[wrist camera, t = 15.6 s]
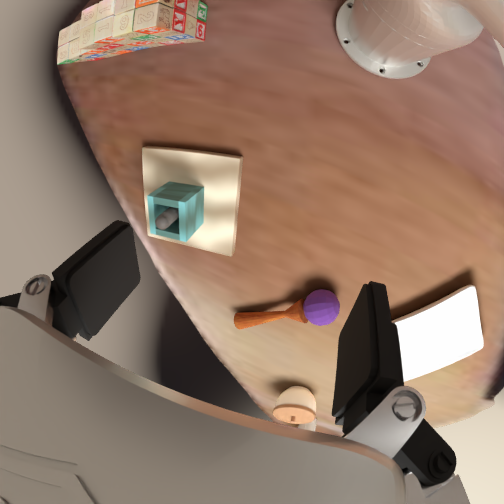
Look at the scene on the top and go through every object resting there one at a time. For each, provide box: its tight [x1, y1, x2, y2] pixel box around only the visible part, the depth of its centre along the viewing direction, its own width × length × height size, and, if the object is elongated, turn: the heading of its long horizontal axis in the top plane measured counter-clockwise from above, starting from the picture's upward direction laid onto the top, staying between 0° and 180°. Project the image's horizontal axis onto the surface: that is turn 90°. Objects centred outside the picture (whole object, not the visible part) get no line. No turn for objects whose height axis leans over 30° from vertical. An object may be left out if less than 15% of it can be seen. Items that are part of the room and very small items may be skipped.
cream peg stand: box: [142, 146, 243, 257], centre depth 38 cm, size 16×16×10 cm
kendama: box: [234, 289, 340, 329], centre depth 47 cm, size 6×6×20 cm
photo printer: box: [298, 418, 317, 431], centre depth 69 cm, size 10×4×12 cm, turn 171°
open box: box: [147, 181, 204, 242], centre depth 38 cm, size 6×6×6 cm
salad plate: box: [392, 285, 484, 381], centre depth 42 cm, size 21×21×3 cm
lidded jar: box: [273, 386, 316, 424], centre depth 60 cm, size 11×11×9 cm
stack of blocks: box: [57, 0, 208, 64], centre depth 23 cm, size 21×6×12 cm, turn 86°
